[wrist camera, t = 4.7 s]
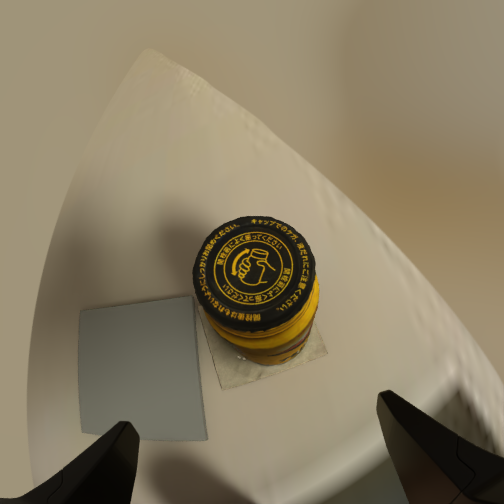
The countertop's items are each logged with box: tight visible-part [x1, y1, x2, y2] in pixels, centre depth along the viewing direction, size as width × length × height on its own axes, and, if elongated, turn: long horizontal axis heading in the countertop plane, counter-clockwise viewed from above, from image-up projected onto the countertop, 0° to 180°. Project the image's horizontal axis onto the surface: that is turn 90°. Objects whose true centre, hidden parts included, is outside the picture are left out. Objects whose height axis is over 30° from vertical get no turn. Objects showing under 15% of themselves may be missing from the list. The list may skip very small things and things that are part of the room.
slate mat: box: [78, 295, 208, 441], centre depth 22 cm, size 12×12×1 cm
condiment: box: [193, 216, 328, 390], centre depth 17 cm, size 7×8×12 cm
